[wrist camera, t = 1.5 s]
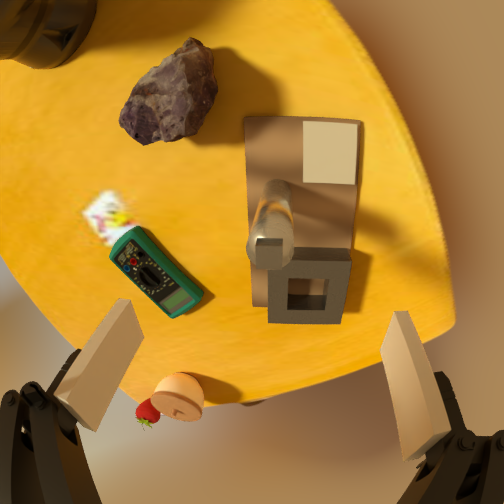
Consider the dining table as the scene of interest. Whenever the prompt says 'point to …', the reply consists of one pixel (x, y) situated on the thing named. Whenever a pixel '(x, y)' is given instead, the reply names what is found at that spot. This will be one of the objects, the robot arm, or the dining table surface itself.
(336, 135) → the pad
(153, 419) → the strawberry
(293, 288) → the board
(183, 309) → the digital multimeter
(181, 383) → the lidded jar
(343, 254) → the block
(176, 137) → the rock
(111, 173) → the dining table surface
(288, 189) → the silver metal post
